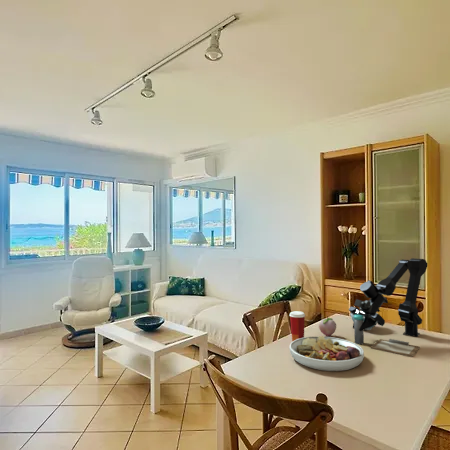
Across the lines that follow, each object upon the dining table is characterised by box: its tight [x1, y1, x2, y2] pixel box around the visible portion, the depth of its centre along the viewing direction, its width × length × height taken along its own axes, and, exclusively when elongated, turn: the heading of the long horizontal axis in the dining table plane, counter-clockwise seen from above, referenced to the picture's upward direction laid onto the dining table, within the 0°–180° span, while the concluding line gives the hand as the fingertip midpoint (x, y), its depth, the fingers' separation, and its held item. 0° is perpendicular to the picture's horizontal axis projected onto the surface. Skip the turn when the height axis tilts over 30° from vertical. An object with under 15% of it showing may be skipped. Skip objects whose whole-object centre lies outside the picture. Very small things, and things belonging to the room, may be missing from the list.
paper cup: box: [289, 310, 306, 342], centre depth 162 cm, size 8×8×14 cm
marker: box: [353, 315, 365, 345], centre depth 158 cm, size 4×4×13 cm
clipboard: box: [370, 338, 421, 358], centre depth 150 cm, size 14×17×2 cm
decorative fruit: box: [318, 316, 337, 337], centre depth 168 cm, size 9×8×10 cm
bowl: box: [289, 335, 365, 372], centre depth 139 cm, size 30×30×8 cm
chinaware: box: [349, 310, 379, 331], centre depth 181 cm, size 15×15×8 cm
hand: (356, 329), depth 157 cm, fingers closed on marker, 4 cm apart
